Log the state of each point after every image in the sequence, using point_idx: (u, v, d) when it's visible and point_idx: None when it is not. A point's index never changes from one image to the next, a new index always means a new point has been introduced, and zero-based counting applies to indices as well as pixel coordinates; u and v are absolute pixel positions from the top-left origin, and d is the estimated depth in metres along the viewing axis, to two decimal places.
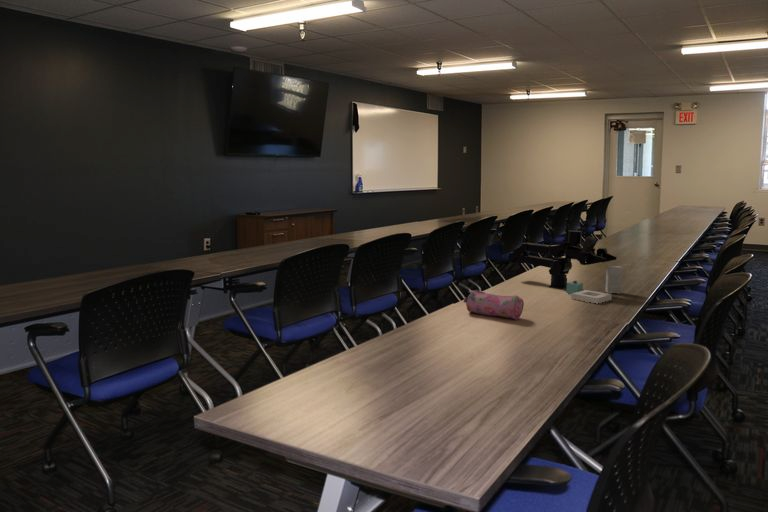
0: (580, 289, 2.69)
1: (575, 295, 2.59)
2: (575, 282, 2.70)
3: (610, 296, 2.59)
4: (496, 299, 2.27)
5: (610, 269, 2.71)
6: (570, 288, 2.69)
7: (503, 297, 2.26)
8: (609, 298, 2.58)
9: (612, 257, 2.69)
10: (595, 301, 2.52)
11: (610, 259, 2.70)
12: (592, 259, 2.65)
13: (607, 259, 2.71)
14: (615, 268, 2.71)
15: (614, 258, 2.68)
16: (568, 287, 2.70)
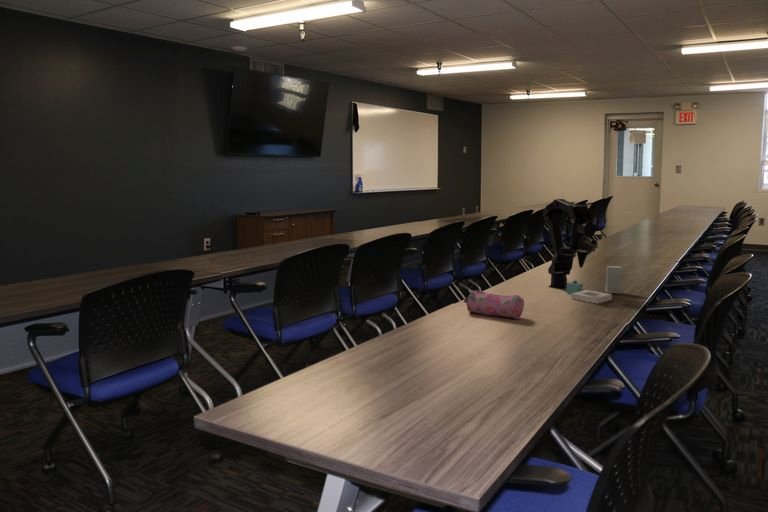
0: (580, 289, 2.69)
1: (575, 295, 2.59)
2: (575, 282, 2.70)
3: (610, 296, 2.59)
4: (497, 298, 2.27)
5: (610, 269, 2.71)
6: (570, 288, 2.69)
7: (504, 297, 2.27)
8: (609, 298, 2.58)
9: (581, 263, 2.72)
10: (595, 301, 2.52)
11: (579, 261, 2.73)
12: (568, 257, 2.65)
13: (579, 258, 2.73)
14: (615, 268, 2.71)
15: (580, 265, 2.72)
16: (568, 287, 2.70)
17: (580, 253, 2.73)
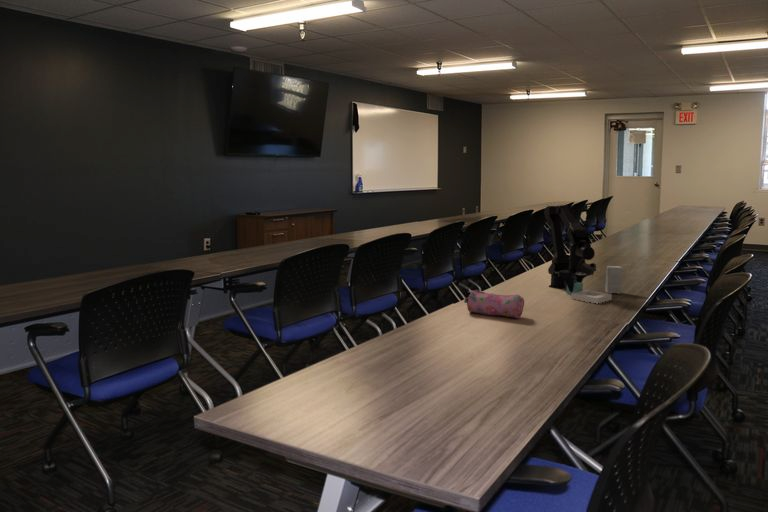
0: (580, 289, 2.69)
1: (575, 295, 2.59)
2: (575, 282, 2.70)
3: (610, 296, 2.59)
4: (497, 298, 2.27)
5: (610, 269, 2.71)
6: None
7: (504, 296, 2.27)
8: (609, 298, 2.58)
9: None
10: (595, 301, 2.52)
11: None
12: (569, 279, 2.68)
13: None
14: (615, 268, 2.71)
15: None
16: None
17: (576, 276, 2.73)
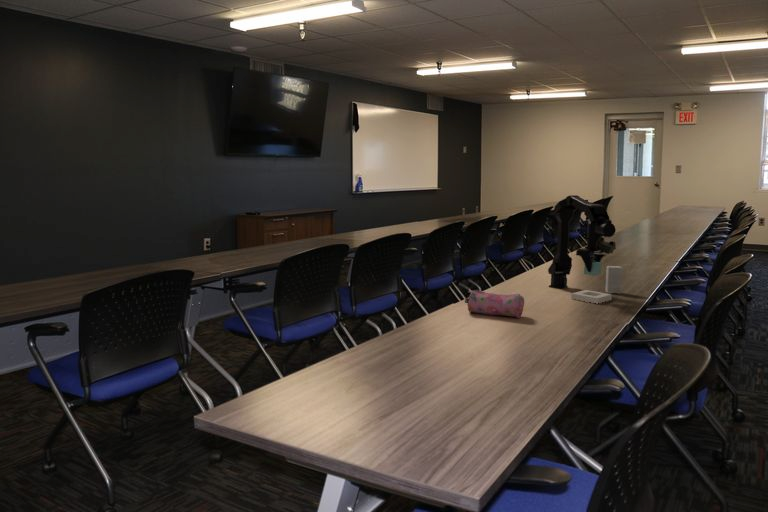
0: (599, 268, 2.57)
1: (575, 295, 2.59)
2: (593, 261, 2.57)
3: (610, 296, 2.59)
4: (498, 298, 2.28)
5: (610, 269, 2.71)
6: None
7: (505, 296, 2.28)
8: (609, 298, 2.58)
9: None
10: (595, 301, 2.52)
11: None
12: (587, 258, 2.55)
13: None
14: (615, 268, 2.71)
15: None
16: None
17: (595, 255, 2.60)
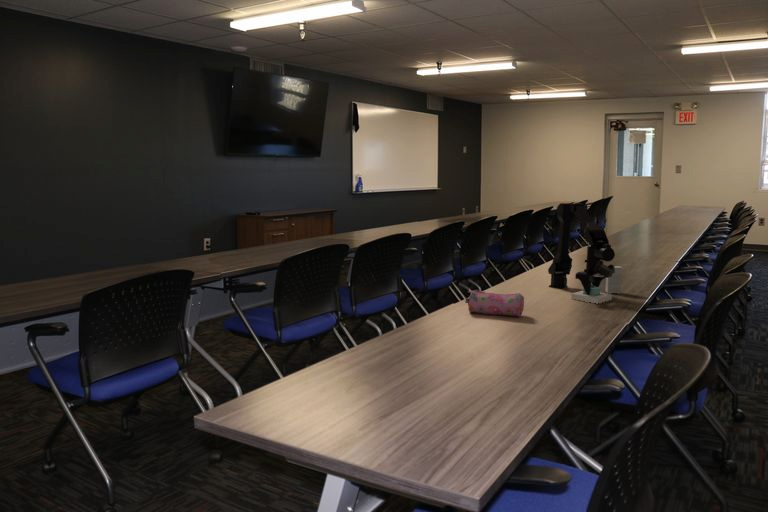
0: (597, 294, 2.58)
1: (575, 295, 2.59)
2: (592, 286, 2.58)
3: (610, 296, 2.59)
4: (499, 297, 2.29)
5: None
6: None
7: (506, 295, 2.29)
8: (609, 298, 2.58)
9: None
10: (595, 301, 2.52)
11: None
12: (586, 282, 2.56)
13: (593, 283, 2.62)
14: (615, 268, 2.71)
15: None
16: (585, 292, 2.59)
17: (594, 278, 2.62)
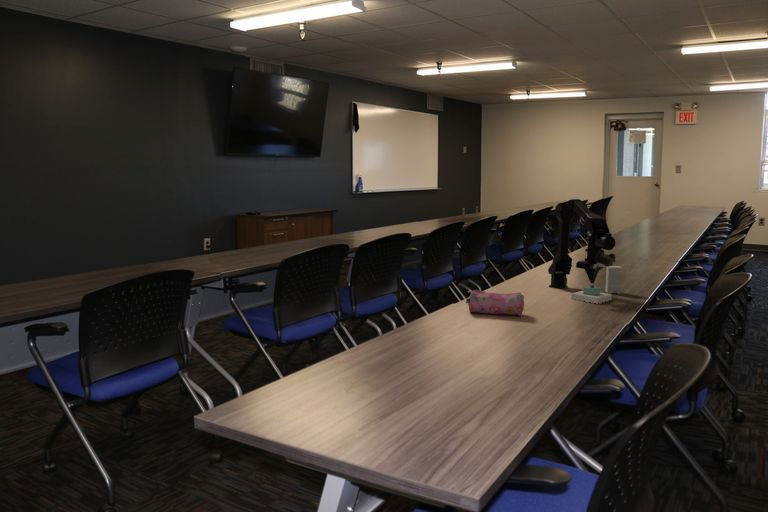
0: (597, 294, 2.58)
1: (575, 295, 2.59)
2: (592, 286, 2.58)
3: (610, 296, 2.59)
4: (500, 297, 2.30)
5: (610, 269, 2.71)
6: (587, 293, 2.58)
7: (506, 295, 2.30)
8: (609, 298, 2.58)
9: None
10: (595, 301, 2.52)
11: None
12: (590, 270, 2.57)
13: None
14: (615, 268, 2.71)
15: None
16: (585, 292, 2.59)
17: None
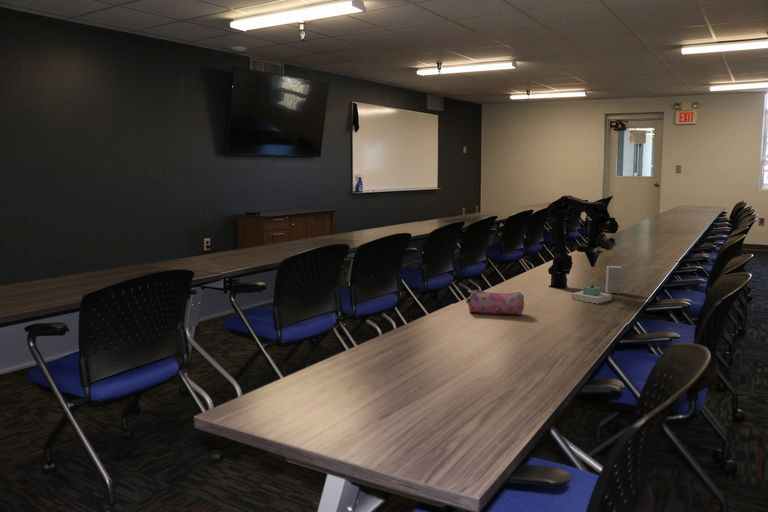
0: (597, 294, 2.58)
1: (575, 295, 2.59)
2: (592, 286, 2.58)
3: (610, 296, 2.59)
4: (500, 297, 2.30)
5: (610, 269, 2.71)
6: (587, 293, 2.58)
7: (506, 294, 2.31)
8: (609, 298, 2.58)
9: None
10: (595, 301, 2.52)
11: None
12: (590, 254, 2.64)
13: None
14: (615, 268, 2.71)
15: None
16: (585, 292, 2.59)
17: None
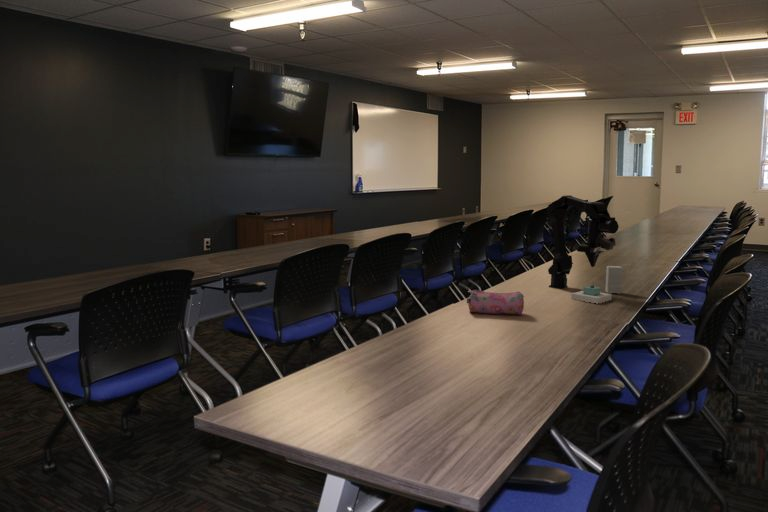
0: (597, 294, 2.58)
1: (575, 295, 2.59)
2: (592, 286, 2.58)
3: (610, 296, 2.59)
4: (500, 297, 2.30)
5: (610, 269, 2.71)
6: (587, 293, 2.58)
7: (506, 294, 2.31)
8: (609, 298, 2.58)
9: None
10: (595, 301, 2.52)
11: None
12: (590, 254, 2.64)
13: None
14: (615, 268, 2.71)
15: None
16: (585, 292, 2.59)
17: None
